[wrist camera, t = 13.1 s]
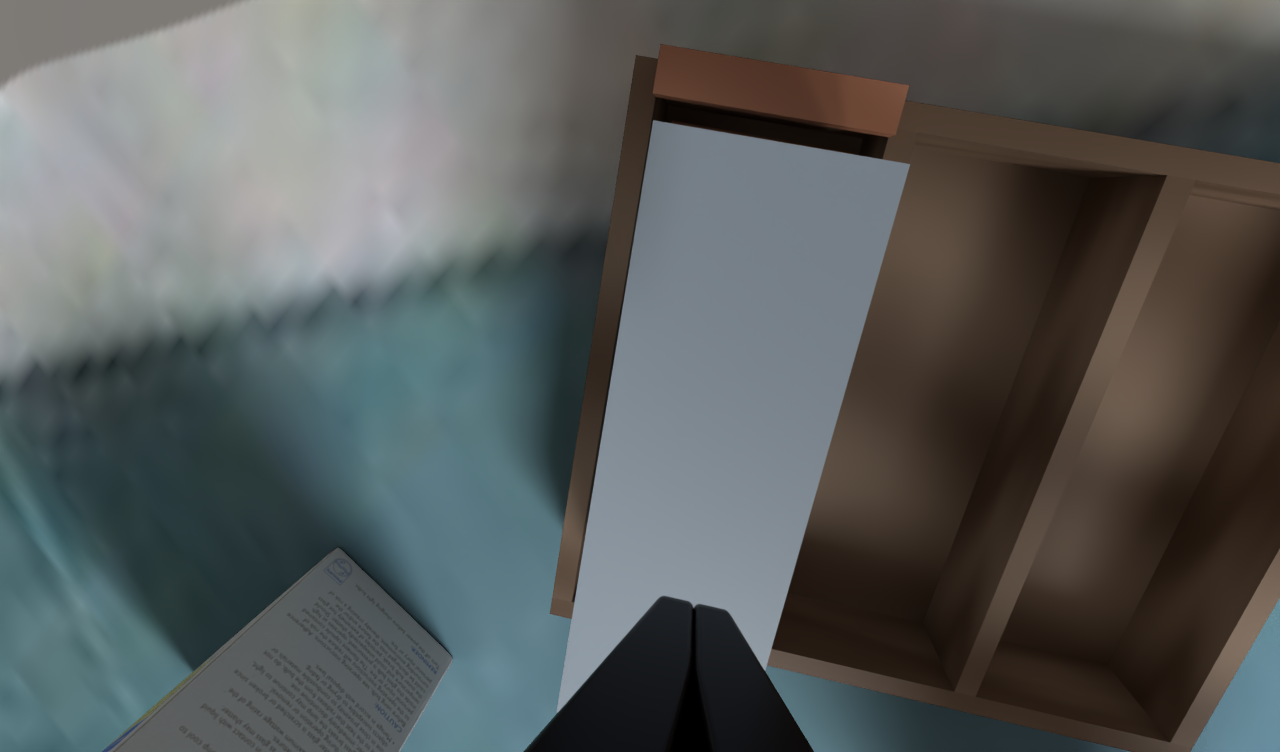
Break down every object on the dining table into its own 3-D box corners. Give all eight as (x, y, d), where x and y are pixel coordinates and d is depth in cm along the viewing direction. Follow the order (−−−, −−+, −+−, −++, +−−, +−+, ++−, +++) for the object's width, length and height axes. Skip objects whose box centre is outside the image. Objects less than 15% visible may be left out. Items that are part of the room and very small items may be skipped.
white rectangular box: (734, 549, 21) (740, 757, 13) (617, 523, 21) (556, 712, 13) (827, 176, 17) (910, 164, 9) (684, 151, 17) (653, 120, 10)
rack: (1108, 670, 21) (1198, 783, 17) (576, 549, 22) (544, 626, 18) (1349, 191, 16) (1551, 192, 12) (654, 74, 18) (634, 39, 14)
